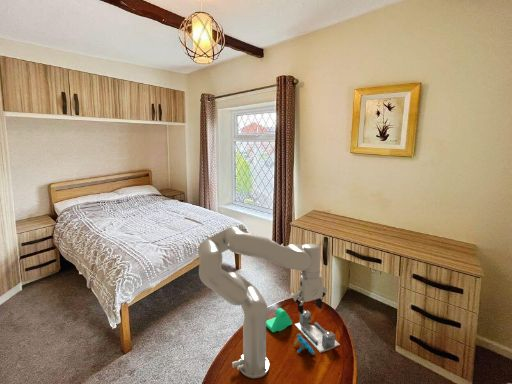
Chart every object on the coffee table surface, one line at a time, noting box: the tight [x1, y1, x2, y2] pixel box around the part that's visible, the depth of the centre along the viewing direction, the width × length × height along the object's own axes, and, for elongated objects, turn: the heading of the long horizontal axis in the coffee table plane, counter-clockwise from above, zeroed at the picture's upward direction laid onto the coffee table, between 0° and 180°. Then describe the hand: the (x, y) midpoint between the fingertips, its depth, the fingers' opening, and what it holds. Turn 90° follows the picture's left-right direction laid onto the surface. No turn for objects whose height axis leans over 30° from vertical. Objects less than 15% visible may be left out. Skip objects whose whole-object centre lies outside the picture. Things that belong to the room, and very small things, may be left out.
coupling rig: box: [294, 309, 340, 354], centre depth 128 cm, size 11×21×7 cm, turn 24°
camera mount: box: [266, 307, 293, 333], centre depth 135 cm, size 12×8×10 cm, turn 123°
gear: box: [294, 333, 315, 355], centre depth 117 cm, size 11×6×10 cm
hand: (309, 309), depth 116 cm, fingers open, 9 cm apart
